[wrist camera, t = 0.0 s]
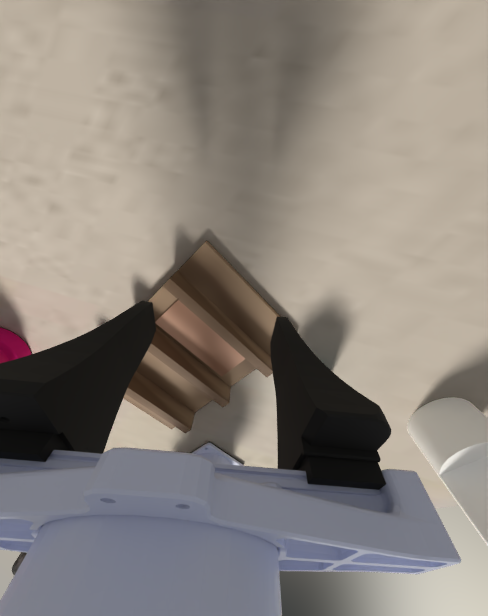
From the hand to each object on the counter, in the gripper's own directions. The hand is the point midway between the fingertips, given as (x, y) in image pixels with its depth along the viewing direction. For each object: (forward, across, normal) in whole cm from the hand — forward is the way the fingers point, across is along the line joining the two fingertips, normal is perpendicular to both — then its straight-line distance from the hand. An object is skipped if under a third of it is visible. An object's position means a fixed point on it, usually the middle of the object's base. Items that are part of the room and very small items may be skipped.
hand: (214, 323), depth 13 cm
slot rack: (+9, +4, +12) cm, 15 cm away
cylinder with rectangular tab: (+8, -31, +19) cm, 38 cm away
